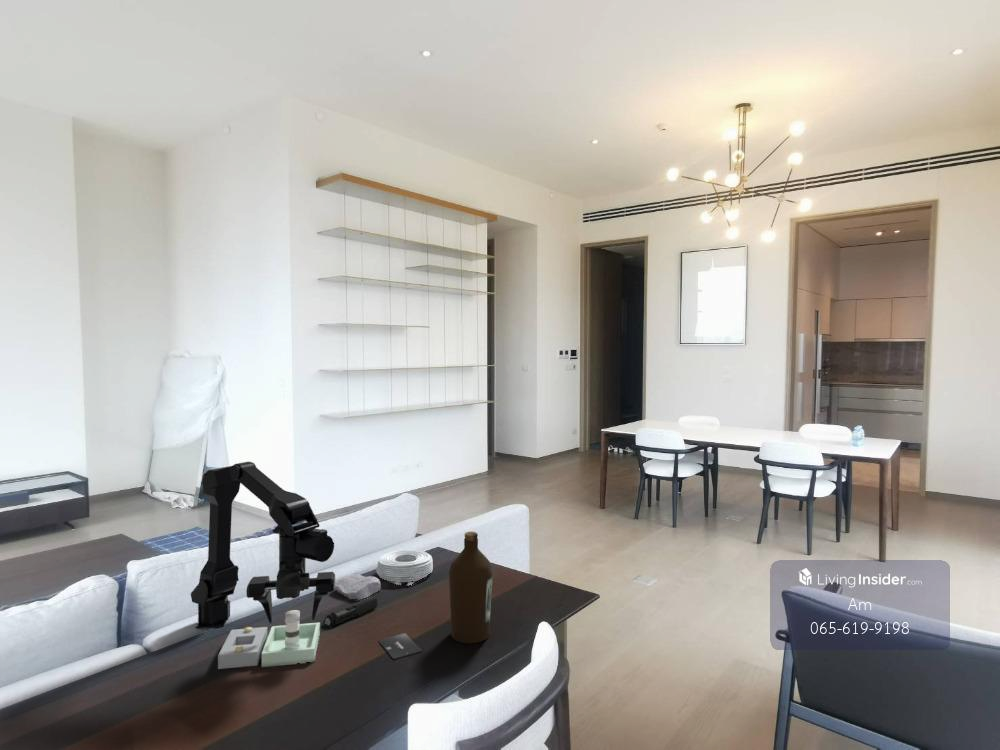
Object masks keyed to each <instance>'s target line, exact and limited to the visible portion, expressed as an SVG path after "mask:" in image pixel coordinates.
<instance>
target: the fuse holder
mask: <svg viewBox="0 0 1000 750" xmlns="http://www.w3.org/2000/svg"><path fill="white" fill-rule="evenodd" d="M268 635H269V634H268V626H262V627H260V626H259V627H252V626H247V627H245V628H239V629H238V628H237V629H231V630H230V632H229V634H228V636H227V637H226V639H225V642H224V644H223V645H222V647H221V649H220V651H219V653H218V655H217V669H218V670H222V669H224V670H225V669H230V668H231V669H232V668H234V669H235V668H245V667H253V666H254V667H256V666H258V665H259V662H260V660H261V659H262V651H263V649H264V646H265V643H266V641H267V638H268Z"/></svg>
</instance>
